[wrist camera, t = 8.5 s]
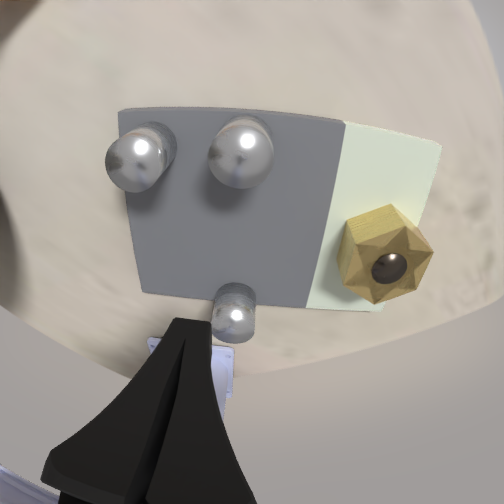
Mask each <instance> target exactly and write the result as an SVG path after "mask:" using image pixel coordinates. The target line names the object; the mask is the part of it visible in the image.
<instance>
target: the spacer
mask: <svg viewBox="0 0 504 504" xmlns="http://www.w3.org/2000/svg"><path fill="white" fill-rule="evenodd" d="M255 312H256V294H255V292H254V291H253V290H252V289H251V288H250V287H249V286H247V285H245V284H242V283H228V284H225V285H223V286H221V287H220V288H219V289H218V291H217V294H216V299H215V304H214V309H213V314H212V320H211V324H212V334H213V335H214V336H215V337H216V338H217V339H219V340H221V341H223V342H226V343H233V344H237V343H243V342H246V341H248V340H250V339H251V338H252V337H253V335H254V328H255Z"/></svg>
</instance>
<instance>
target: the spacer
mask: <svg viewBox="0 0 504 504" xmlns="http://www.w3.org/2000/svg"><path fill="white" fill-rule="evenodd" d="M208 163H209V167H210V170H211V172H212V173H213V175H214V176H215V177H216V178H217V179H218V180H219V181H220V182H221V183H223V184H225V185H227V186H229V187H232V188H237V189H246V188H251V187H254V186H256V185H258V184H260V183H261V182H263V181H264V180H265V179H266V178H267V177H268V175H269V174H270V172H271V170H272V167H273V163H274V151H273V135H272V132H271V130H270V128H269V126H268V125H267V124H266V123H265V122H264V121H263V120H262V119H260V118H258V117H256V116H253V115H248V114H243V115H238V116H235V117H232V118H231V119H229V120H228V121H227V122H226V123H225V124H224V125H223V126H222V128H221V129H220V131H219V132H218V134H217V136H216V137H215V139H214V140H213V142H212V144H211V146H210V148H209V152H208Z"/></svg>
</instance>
